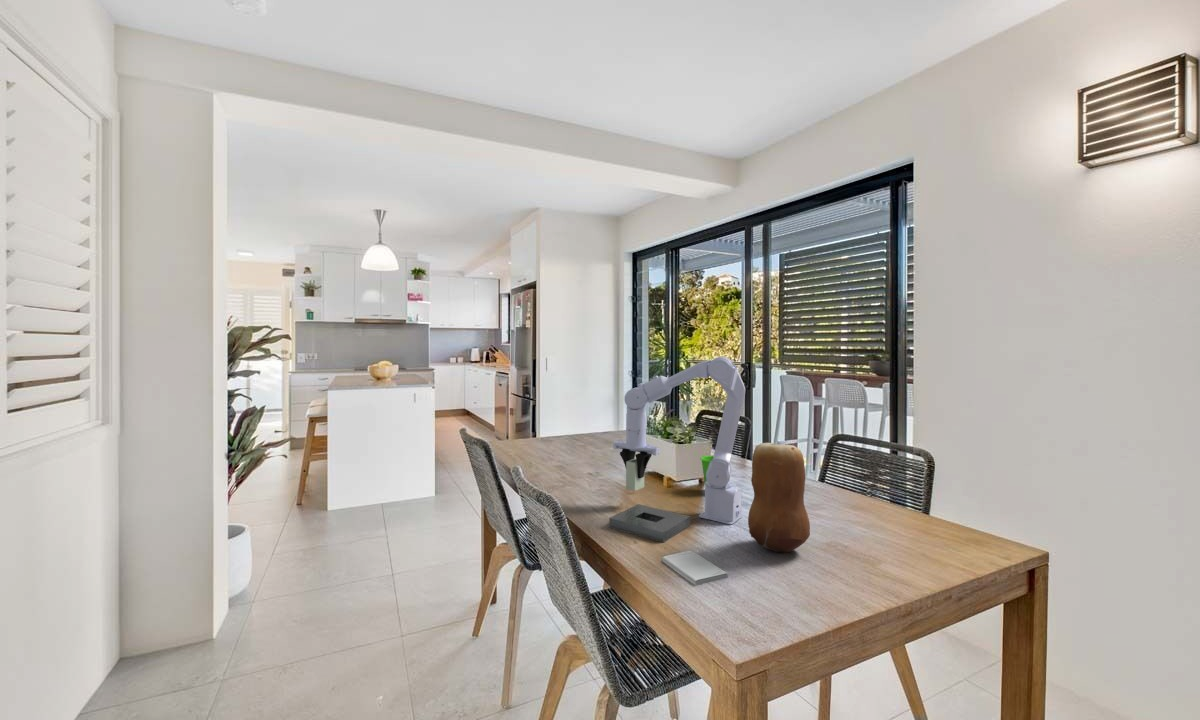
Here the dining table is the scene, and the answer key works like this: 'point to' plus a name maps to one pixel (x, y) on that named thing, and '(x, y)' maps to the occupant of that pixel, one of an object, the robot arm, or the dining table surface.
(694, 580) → the hard drive
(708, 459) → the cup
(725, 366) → the robot arm
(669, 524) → the key plate
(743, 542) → the dining table surface
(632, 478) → the keyed block
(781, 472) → the butternut squash
